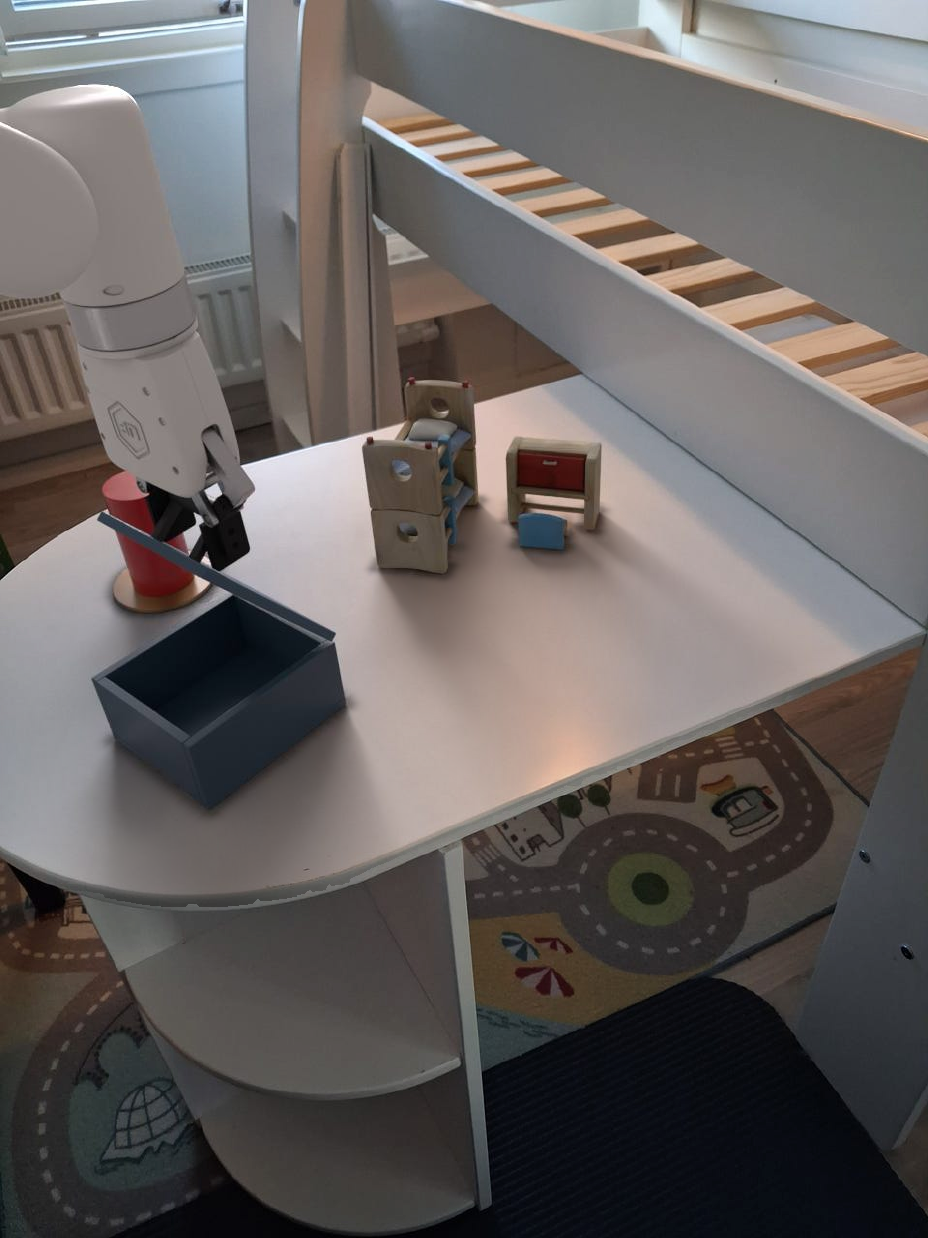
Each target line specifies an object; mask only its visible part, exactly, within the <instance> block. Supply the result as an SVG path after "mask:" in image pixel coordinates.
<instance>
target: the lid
mask: <svg viewBox="0 0 928 1238" xmlns="http://www.w3.org/2000/svg"><path fill="white" fill-rule="evenodd" d="M207 496H208V498H209V500H210V502H211V504H213V502H214V501H215V500H216V498H217V497H216V498H215V497H214V496H211V495H210V494H207ZM169 498H170V502H169V504H168V505H167V507H166V509H165V511H164V513H163V514H162V516H161V518H160V520H159V522H158V524H157V525H156V527H155V529H154V531H153V533H152V534H151V535H149V534H147V533H145V532H143V531H141V530H139V529H137V528H135V527H133V526H131V525H129V524H127V523H125V522H123V521H121V520H119V519H117V518H115V517H113V516H111V515H110V514H109V513H107V512H105V511H100V513H99V515H98V517H97V518H96V521H97V522H99V523H101V524H102V525H104V526H106V527H108V528H110V529H111V530H113V531H114V532H115V531H117V532H119V533H121V534H122V535H124V536H126V537H128V538H130V539H131V540H133V541H135V542H137V543H139V544H140V545H142V546H144V547H146V548H148V549H149V550H151V551H153V552H155V553H157V554H158V555H160V556H162V557H164V558H166V559H167V560H169V561H171V562H173V563H175V564H176V565H178V566H180V567H182V568H184V569H185V570H187V571H189V572H191V573H193V574H194V575H196V576H198V577H200V578H202V579H204V580H206V581H208V582H210V583H212V585H214V586H216V587H218V588H220V589H222V590H224V591H225V592H230V593H232V594H234V595H236V596H238V597H240V598H243V599H245V600H247V601H249V602H251V603H253V604H255V605H257V606H259V607H261V608H263V609H265V610H267V611H269V612H271V613H273V614H275V615H277V616H279V617H281V618H284V619H286V620H288V621H290V622H292V623H294V624H296V625H298V626H300V627H302V628H304V629H306V630H308V631H310V632H312V633H314V634H316V635H318V636H320V637H323V638H325V639H327V640H329V641H331V642H332V641H333V640H334V639H335V637H336V635H337V633H336V632H335V631H333V630H331V629H330V628H328V627H326V626H324V625H323V624H320V623H318V622H317V621H315V620H313V619H311V618H309V617H307V616H305V615H303V614H302V613H300V612H299V611H297V610H294V609H292V608H291V607H289V606H287V605H285V604H283V603H281V602H279V601H278V600H276V599H274V598H272V597H270V596H269V595H267V594H265V593H263V592H261V591H259V590H257V589H255V588H254V587H252V586H250V585H248V584H246V583H244V582H242V581H240V580H238V579H237V578H235V577H233V576H231V575H229V574H227V573H226V572H223V571H216V570H215V569H213V568H212V567H211V566H210V565H208V564H206V563H204V562H202V559H203V557H204V556H205V555H206V553H207V550H206V547H205V544H204V541H203V537H202V534H201V533H200V535H199V537H198V538H197V540H196V542H195V544H194V546H193V548H192V550H191V553H190V555H188V554H186V553H184V552H182V551H180V550H178V549H176V548H174V547H172V546H170V545H168V544H166V543H164V542H163V541H164V539H165V537H166V535H167V533H168V532H169V530H170V528H171V526H172V524H173V522H174V521H175V519H176V517H177V515H178V513H179V512H180V510H181V508H182V507H184V508H186V509H188V510H190V511H192V512H194V514H196V515H197V516H200V517H201V515H200V513H199V511H198V509H197V507H196V505H195V503H194V501H193V499H192V497H191V498H185V497H180V496H177V495H175V494H172V493H170V492H169ZM333 642H334V641H333Z"/></svg>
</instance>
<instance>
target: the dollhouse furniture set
mask: <svg viewBox="0 0 928 1238" xmlns="http://www.w3.org/2000/svg"><path fill="white" fill-rule="evenodd" d="M407 381H408V382H406V384H405V386H404V391H403V392H404V401H405V411H406V421H405V422H404V424H403V425H402V427H401V428H400V430H399V432H398V433H397V434H396V436H395V437H394V438H393V439H374V437H373V436H367V437H366V438H365V439H366V441H364V443H363V444H362V446H361V452H362V460H363V467H364V474H365V481H366V482H365V483H366V489H367V495H368V503H369V508H370V509H371V510H370V520H371V527H372V535H373V542H374V550H375V558H376V565H377V567H378V568H383V569H415V570H420V571H425V572H430V573H433V574H441V575H444V574H446V573H447V571H448V568H449V562H448V549H449V547H448V546H449V545H451V546H453V545H454V546H455V545H456V544H457V543H458V542H457V541H458V528H457V527H458V526H457V521H458V519H459V516H460V514H461V511H462V509H463V508H464V507H465V506H477V505H478V502H479V483H478V481H479V480H478V470H477V468H478V467H477V450H476V449H477V448H476V445H477V433H476V432H477V431H476V417H475V416H476V415H475V396H474V386H473V385H471V384H469V382H468V380H463V381H462V382H456V381H449V380H435V379H427V380H415V377H412V376H411V377H408V380H407ZM434 399H441V400H442V401H444V402H445V403H446V405H447V407H448V411H446V412H439V411H437V410H435V408H434V407H433V405H432V400H434ZM602 446H603V445H602V443H601V442H596V441H592V442H591V441H579V440H566V439H553V438H540V437H528V436H527V437H526V436H525V437H524V436H518V435H517V436H514V437H513V439H512V441H511V442H510V444H509V447H508V449H507V450H506V455H505V468H506V469H505V475H506V479H505V480H506V500H507V501H506V503H507V505H506V506H507V521H508V522H509V523H517V531H518V546H519V547H527V548H537V549H547V550H557V551H562V550H564V547H565V537H567V536H568V519H565V518H562V517H561V516H557V515H553V514H550V513H544V512H543V513H542V512H541V513H540V512H528V513H523V511H524V509H531V510H539V511H540V510H541V511H553V512H559V513H560V512H561V513H571V514H580V515H581V514H582V515H583V530H585V531H594V530H595V527H596V524H597V520H598V517H599V513H600V511H601V510H600V507H601V506H600V505H601V475H602ZM526 495H529V496H530V495H531V496H540V497H541V496H542V497H550V498H551V497H552V498H562V499H573V500H580V501H583V503H584V505H583V507H576V506H569V505H568V506H567V505H557V504H547V503H539V502H538V503H536V502H529V501H527V500H526V499H527V497H526Z"/></svg>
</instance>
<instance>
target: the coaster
mask: <svg viewBox="0 0 928 1238" xmlns="http://www.w3.org/2000/svg"><path fill="white" fill-rule="evenodd" d="M188 551H189V555H190V553H191V551H192V550H191V551H190V550H188ZM202 562H204V563H206V564H208V565H210V566H211V563H210V560H209V557H208V556H205V555H204V557H203V559H202ZM212 585H213V584H212V583H210V582H208V581H206V580H204V579H202V578H200V577H198V576H196V575H194V577H193V580H192V581H191V582H190V583H189V584H188V585H187V586H186V587H185V588H183V589H182V590H180V591H178V592H176V593H173V594H170V595H166V596H160V597H149V596H144V595H142V594H140V593H138V592H137V591H136V590H135V589H134V586H133V583H132V580H131V577H130V574H129V571H128V568H127V567H125V568H124V569H123V570H122V571H121V572H120V573H119V575H117V577H116V579H115V581H114V583H113V586H112V593H113V596H114V599H115V600H116V602H117V603H118V604H119V605H120V606H121V607H123V608H124V609H127V610H129V611H132V612H137V613H143V614H144V613H145V614H153V613H162V612H169V611H173V610H175V609H179V608H181V607H184V606H186V605H188V604H190V603H192V602H194V601H196V600H198V599H199V598H201V597H202V596H203V595H204V594H206V592H207V591H208V590H209V589H210V588H211V587H212Z"/></svg>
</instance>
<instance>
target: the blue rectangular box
mask: <svg viewBox="0 0 928 1238" xmlns="http://www.w3.org/2000/svg"><path fill="white" fill-rule="evenodd" d="M90 680H91V682H92V684H93V687H94V689H95V690H94V691H95V692H96V695H97V697H98V700H99V702H100V705H101V707H102V709H103V712H104V715H105V717H106V720H107V722H108V726H109V727H110V731H111V732H112V736H113V738H114V740H115V741H117V742H118V743H120V744H121V745H122V746H124V747H125V748H126V749H127V750H129V751H130V752H132V753H133V754H134V755H136V756H137V757H138V758H140V759H141V760H142V761H143V762H145V763H146V764H147V765H149V766H150V767H152V768H153V769H154V770H156V772H158V773H160V774H161V775H162V776H164V778H166V779H168V780H169V781H170V782H171V783H172V784H174V785H176V787H178V788H179V789H181V790H182V791H184V792H185V793H186V794H187V795H189V797H192V798H193V799H194V800H195V801H196V802H198V803H200V804H201V805H202V806H204V808H206V809H208V810H209V811H211V810H212V809H213V808H214V807H216V806H217V805H218V804H221V802H222V801H224V800H225V799H226V798H227V797H229V796H230V795H231V794H232V793H234V792H235V791H236V790H238V789H239V788H240V787H242V786H243V785H244V784H245V783H247V782H248V781H250V780H251V779H252V778H253V777H255V776H256V775H257V774H258V773H259V772H261V771H262V770H264V769H265V768H266V767H267V766H269V765H270V764H271V763H273V762H274V761H275V760H276V759H278V758H279V757H280V756H282V755H283V754H284V753H285V752H287V751H288V750H290V748H292V747H293V746H295V745H296V744H297V743H298V742H300V741H301V739H304V738H305V737H306V736H307V735H308V734H310V733H311V732H312V731H313V730H315V729H317V728H318V726H320V725H321V724H322V723H324V722H325V721H326V720H328V719H329V718H330V717H332V716H333V715H334V714H335V713H337V712H338V711H340V709H342V708H343V707H344V706H346V705H347V699H346V696H345V695H346V694H345V689H344V684H343V678H342V673H341V668H340V662H339V657H338V651H337V646H336V642H335V641H332V642H331V641H329V640H327V639H325V638H323V637H320V636H318V635H316V634H314V633H312V632H310V631H308V630H306V629H304V628H302V627H300V626H298V625H296V624H294V623H292V622H290V621H288V620H286V619H284V618H281V617H279V616H277V615H275V614H273V613H271V612H269V611H267V610H265V609H263V608H261V607H259V606H257V605H255V604H253V603H251V602H249V601H247V600H245V599H243V598H240V597H238V596H236V595H234V594H232V593H230V592H228V591H226V593H224V594H223V595H221V596H220V597H217V598H216V599H215V600H213V601H212V602H210V603H208V604H206V605H204V607H202V608H200V609H198V610H197V611H195V612H194V613H192V614H191V615H190V616H188V617H186V618H184V619H183V620H181V621H180V622H178V623H177V624H175V625H173V626H172V627H170V628H169V629H167V630H165V631H164V632H162V633H161V634H159V635H157V636H156V637H154V638H152V639H151V640H150V641H148V642H146V643H144V644H143V645H141V646H139V647H138V648H137V649H135V650H133V651H131V652H130V653H129V654H127V655H125V656H124V657H122V658H121V659H119V660H118V661H115V662H114V663H113V664H111V665H110V666H108V667H107V668H105V669H103V670H102V671H100V672H99V673H97V674H95V675H94V676H92V677H90Z"/></svg>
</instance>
